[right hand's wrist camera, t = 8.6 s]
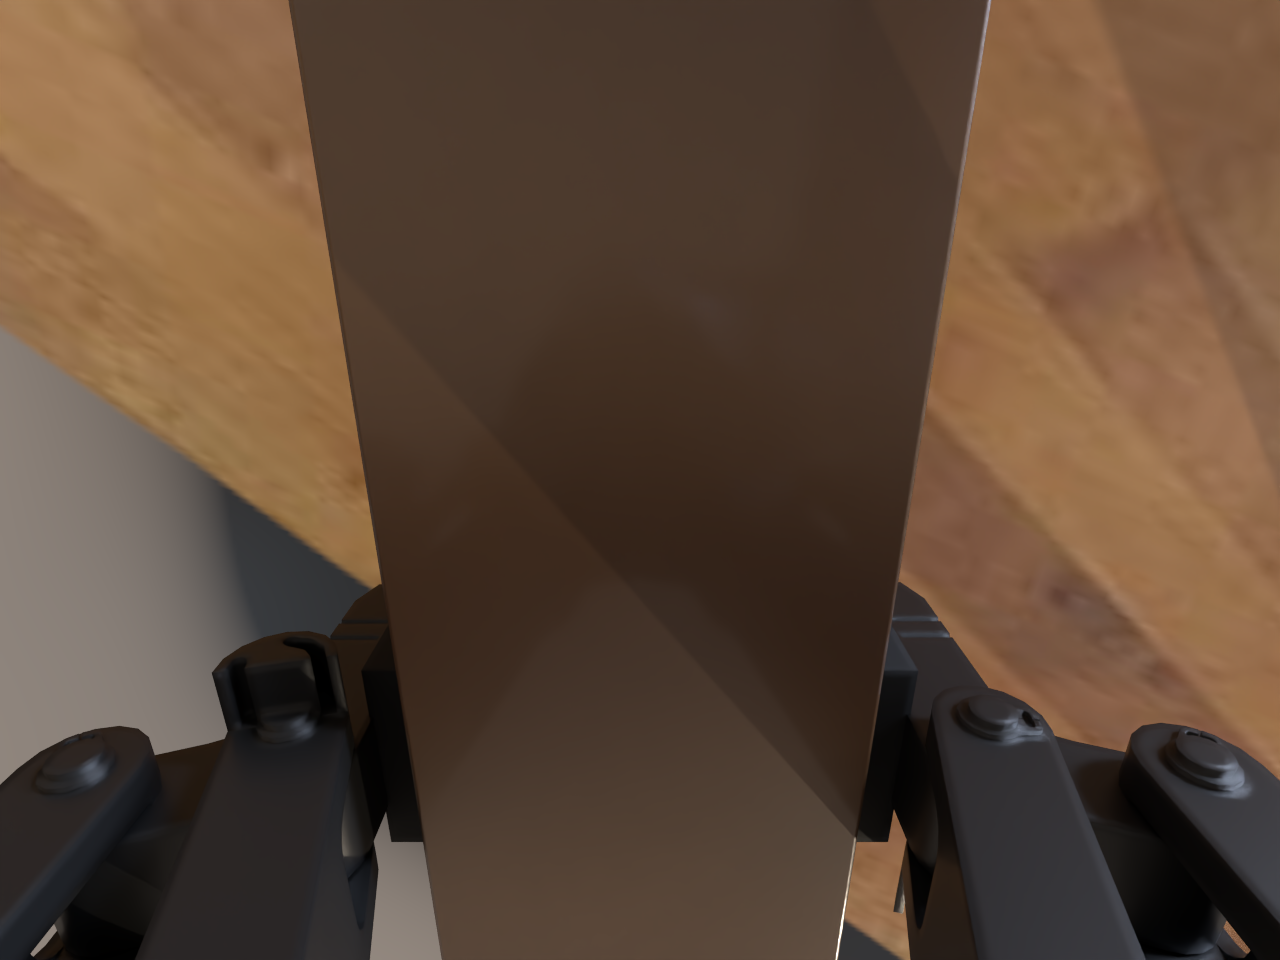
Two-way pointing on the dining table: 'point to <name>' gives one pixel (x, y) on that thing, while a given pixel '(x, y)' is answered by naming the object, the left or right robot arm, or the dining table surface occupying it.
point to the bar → (639, 435)
